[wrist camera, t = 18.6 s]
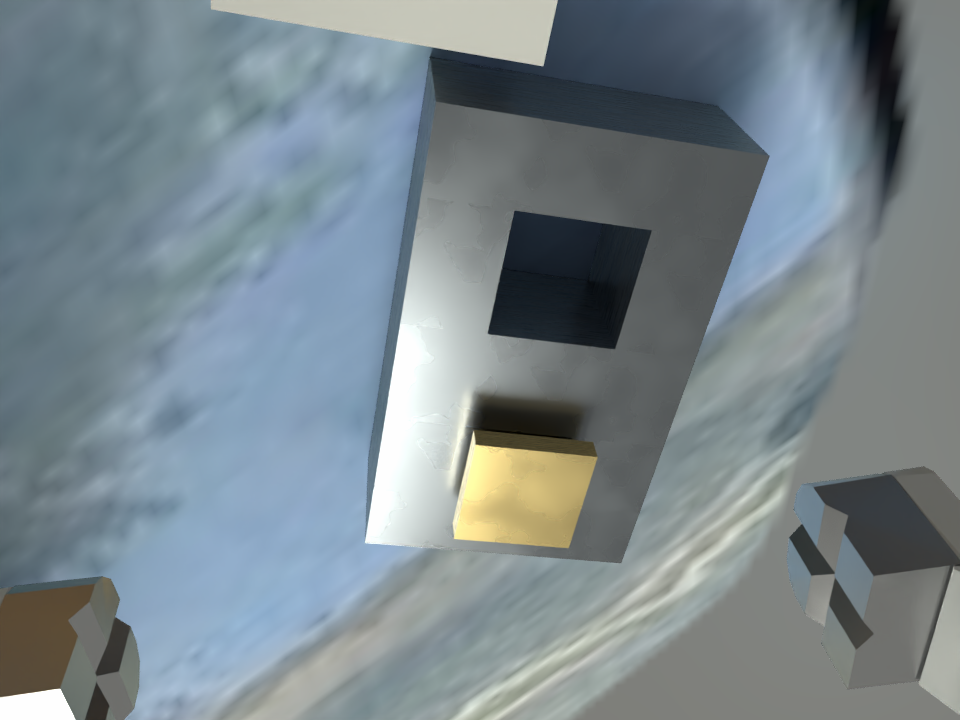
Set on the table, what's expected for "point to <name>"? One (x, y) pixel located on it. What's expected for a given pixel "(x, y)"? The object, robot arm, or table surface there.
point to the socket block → (550, 292)
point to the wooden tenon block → (523, 488)
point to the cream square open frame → (423, 22)
